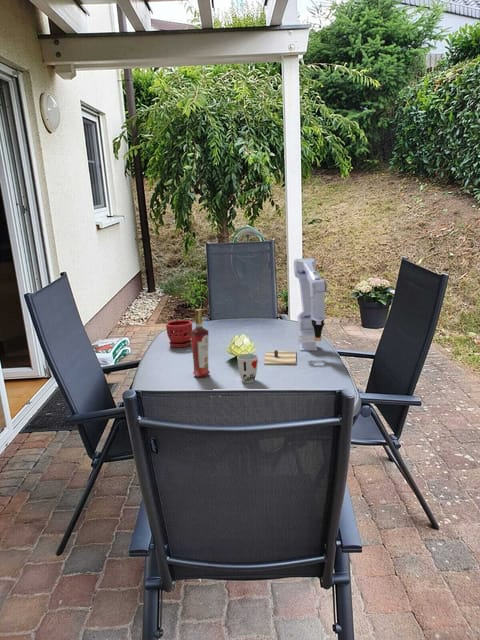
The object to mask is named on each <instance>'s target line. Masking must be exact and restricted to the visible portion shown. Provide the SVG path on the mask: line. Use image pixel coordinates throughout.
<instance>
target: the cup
mask: <svg viewBox="0 0 480 640" xmlns="http://www.w3.org/2000/svg"><path fill="white" fill-rule="evenodd" d="M236 358H237V367H238V373H239V376H240V379H241V382H242V383H248V384H249V383H254V382H255V381H256V377H257V371H258V361H259V360H258V359H259V356H258V355H257V354H255V353H242V354H239V355H237V357H236Z"/></svg>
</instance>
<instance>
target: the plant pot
mask: <svg viewBox="0 0 480 640" xmlns="http://www.w3.org/2000/svg"><path fill="white" fill-rule="evenodd" d="M165 329H166V335H167V338H168V339H169V345H170V346H171V347H173V348H185V347H189V346H190V345H192V344H191V333H190V332H191V331H192V330H193V323H192V321H191V320H172V321H169V322H166V324H165Z"/></svg>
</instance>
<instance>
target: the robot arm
mask: <svg viewBox="0 0 480 640" xmlns="http://www.w3.org/2000/svg"><path fill="white" fill-rule="evenodd" d="M316 268H317V262H316V259H315V258H314V257H312V258H295V259H294V260H293V273H294V277H295V278H297V279H298V283H299V290H300V291H299V292H300V300H301V308H302V311H301V312H299V314H298V315H297V328H298V330H299V331H300V336H314V332H315V337H316V338H320V337H321V338H322V333H323V328H324V326H325V319H328V316H327V315H325V309H326V307H325V303H326V302H325V297H326V296H325V294H326V293H327V287H328V286H327V285H328V284H327V281H326V279H324V278H322V276H321V274H320V273H319V272H318V271H316ZM299 348H300V349H299V350H300V351H315V352H317V351H318V346H317V341H315V342H300V345H299Z"/></svg>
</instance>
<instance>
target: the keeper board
mask: <svg viewBox="0 0 480 640" xmlns="http://www.w3.org/2000/svg"><path fill="white" fill-rule="evenodd" d="M263 365H265V366H268V365H269V366H270V365H271V366H272V365H273V366H274V365H275V366H296V365H297V351H296V350H277V349H275V350H266V351H265V357H264V361H263Z"/></svg>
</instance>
